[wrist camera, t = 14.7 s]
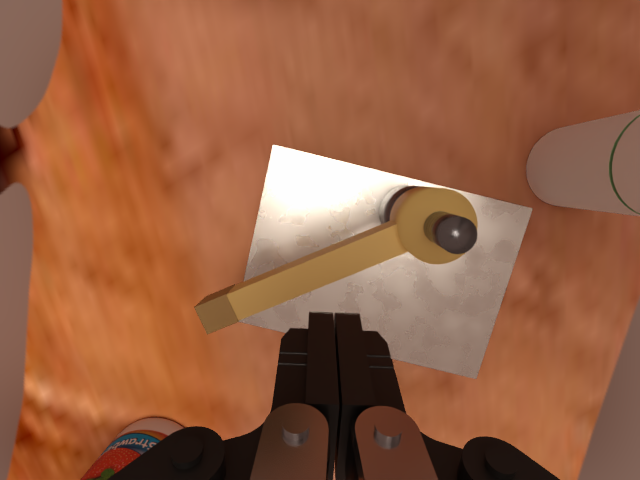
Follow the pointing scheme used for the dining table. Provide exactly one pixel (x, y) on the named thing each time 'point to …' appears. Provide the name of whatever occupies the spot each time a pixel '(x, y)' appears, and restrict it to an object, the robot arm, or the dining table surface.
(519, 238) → the square base plate stand
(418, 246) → the lever handle
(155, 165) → the dining table surface
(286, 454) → the robot arm
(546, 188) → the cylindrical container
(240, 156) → the dining table surface
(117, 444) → the fruit juice
